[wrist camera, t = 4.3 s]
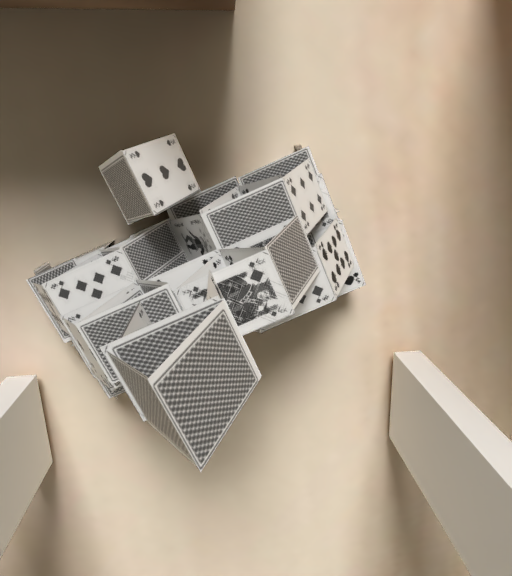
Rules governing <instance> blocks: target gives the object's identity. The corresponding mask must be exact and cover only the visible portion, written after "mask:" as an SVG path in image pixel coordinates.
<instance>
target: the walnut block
mask: <svg viewBox="0 0 512 576" xmlns="http://www.w3.org/2000/svg"><path fill="white" fill-rule="evenodd" d="M235 1H236V0H0V8H75V9H166V10H235Z"/></svg>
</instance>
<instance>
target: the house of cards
mask: <svg viewBox="0 0 512 576" xmlns="http://www.w3.org/2000/svg"><path fill="white" fill-rule="evenodd" d="M294 146H295V149H296V152H294V153H292V154H290V155H288V156H285V157H283V158H281V159H279V160H277V161H274V162H272V163H270V164H268V165H265V166H263V167H261V168H259V169H257V170H254V171H252V172H250V173H248V174H245V175H243V176H241V177H239V178H238V180H239V183H238V181H237V179H236V176H234V177H232V178H230V179H228V180H225V181H223V182H221V183H219V184H217V185H214V186H212V187H210V188H208V189H205V190H203V191H201V189H200V187H199V185H198V183H197V181H196V179H195V176H194V174H193V172H192V170H191V168H190V166H189V163H188V161H187V159H186V157H185V155H184V153H183V151H182V148H181V146H180V144H179V142H178V140H177V138H176V135H175V133H173V134H170V135H167V136H164V137H161V138H158V139H155V140H152V141H149V142H146V143H143V144H140V145H137V146H134V147H131V148H128V149H125V150H122V149H121V150H120V151H119V152H117V153H116V154H115V155H113V156H112V157H111V158H109V159H108V160H107V161H105V162H104V163H103V164H101V165H100V166H99V169H100V172H101V174H102V176H103V178H104V179H105V181H106V183H107V185H108V187H109V189H110V191H111V193H112V195H113V197H114V199H115V200H116V202H117V204H118V206H119V208H120V210H121V212H122V214H123V216H124V218H125V220H126V221H127V223H128V225H130V224H133V223H134V222H136V221H139V220H141V219H143V218H145V217H149V216H153V215H154V216H156V215H158V214H160V213H161V212H163V211H165V210H166V211H167V213H168V215H169V217H170V218H168V219H166V220H164V221H161V222H159V223H157V224H155V225H153V226H150V227H148V228H146V229H144V230H141V231H139V232H137V233H135V234H133V235H130V236H129V237H130V238H129V239H127V240H124V241H122V242H120V243H118V244H116V245H113V246H111V247H108V245H109V244H110V243H111V242H113V241H114V240H113V241H111V242H109V243H106V244H104V245H102V246H100V247H97V248H95V249H93V250H91V251H89V252H86V253H84V254H82V255H80V256H77V257H75V258H73V259H71V260H69V261H66V262H64V263H62V264H60V265H57V266H55V267H53V268H52V267H51V266H50V264H49V262H46V263H44V264H43V265H41V266H40V267H38V268H37V269H35V270H34V273H35V275H36V276H34V277H32V278H29V279H27V280H26V281H27V283H28V284H29V286H30V287H31V289H32V291H33V292H34V294H35V296H36V297H37V299H38V300H39V302H40V304H41V305H42V307H43V309H44V310H45V312H46V313H47V315H48V317H49V318H50V320H51V321H52V323H53V325H54V326H55V328H56V330H57V331H58V333H59V334H60V336H61V338H62V339H63V341H64V342H65V343H66V342H68V341H72V343H73V344H72V346H73V345H74V346H75V348H76V349H77V351H78V352H79V354H80V356H81V357H82V359H83V361H84V362H85V364H86V365H87V367H88V369H89V370H90V372H91V374H92V375H93V377H94V378H97V380H98V381H99V383H100V385H101V386H102V388H103V389H104V391H105V393H106V394H107V396H108V398H112V397H114V396H115V398H116V399H117V397H118V395H119V394H121V393H123V392H126V393H127V394H128V396H129V398H130V400H131V401H132V403H133V405H134V406H135V408H136V410H137V411H138V413H139V415H140V416H141V418H142V420H143V421H146V420H147V421H148V423H149V424H150V425H151V426H152V427H153V428H154V429H155V430H157V431H158V432H159V433H160V434H161V435H162V436H163V437H164V438H165V439H166V440H168V441H169V442H170V443H171V444H172V445H173V446H174V447H175V448H176V449H178V450H179V451H180V452H181V453H182V454H183V455H184V456H185V457H186V458H187V459H189V460H190V461H191V462H192V463H193V464H194V465H195V466H196V467H197V468H198V469H199V470H200V472H201V471H202V470H203V468H204V467H205V465H206V464H207V462H208V460H209V459H210V457H211V456H212V454H213V453H214V451H215V449H216V448H217V446H218V445H219V443H220V442H221V440H222V438H223V437H224V435H225V434H226V432H227V430H228V429H229V427H230V426H231V424H232V423H233V421H234V419H235V418H236V416H237V415H238V413H239V412H240V410H241V408H242V407H243V405H244V404H245V402H246V401H247V399H248V397H249V396H250V394H251V393H252V391H253V389H254V388H255V386H256V385H257V383H258V382H259V380H260V378H261V376H262V375H261V373H260V371H259V369H258V367H257V365H256V363H255V361H254V359H253V357H252V354H251V352H250V350H249V348H248V346H247V344H246V342H245V340H244V338H243V336H244V335H246V334H248V333H251V332H253V331H255V332H259V333H263V332H264V331H266V330H269V329H271V328H273V327H275V326H278V325H280V324H282V323H285V322H287V321H289V320H292V319H294V318H296V317H299V316H301V315H303V314H306V313H308V312H310V311H312V310H315V309H317V308H319V307H322V306H324V305H326V304H329V303H331V302H333V301H336V298H337V297H339V296H341V295H343V294H346V293H348V292H350V291H353V290H355V289H357V288H359V289H360V287H362V286H364V285H366V283H365V280H364V278H363V275H362V272H361V270H360V267H359V264H358V262H357V259H356V256H355V254H354V251H353V248H352V246H351V243H350V240H349V238H348V235H347V232H346V230H345V227H344V224H343V222H342V221H343V220H341V219H340V218H338V216H337V212H339V210H337V209H335V208H334V205H333V203H332V200H331V197H330V195H329V192H328V189H327V187H326V184H325V182H324V179H323V176H322V174H321V173H320V174H319V172H318V169H317V166H316V164H315V161H314V159H313V156H312V153H311V151H310V148H309V146H308V147H305V148H303V149H302V147H301V145H294Z"/></svg>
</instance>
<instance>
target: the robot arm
mask: <svg viewBox="0 0 512 576" xmlns="http://www.w3.org/2000/svg"><path fill="white" fill-rule="evenodd" d="M389 438H390V439H391V441H392V443H393V444H394V446H395V448H396V449H397V451H398V453H399V455H400V456H401V458H402V460H403V461H404V463H405V465H406V466H407V468H408V470H409V471H410V473H411V475H412V477H413V478H414V480H415V482H416V483H417V485H418V487H419V488H420V490H421V492H422V493H423V495H424V497H425V499H426V500H427V502H428V504H429V505H430V507H431V509H432V510H433V512H434V514H435V515H436V517H437V519H438V521H439V522H440V524H441V526H442V527H443V529H444V531H445V532H446V534H447V536H448V537H449V539H450V541H451V543H452V544H453V546H454V548H455V549H456V551H457V553H458V554H459V556H460V558H461V559H462V561H463V563H464V565H465V566H466V568H467V570H468V571H469V573H470V575H471V576H512V441H510V440H509V439H508V438H507V437H506V436H505V435H504V434H503V433H502V432H501V431H500V430H499V429H498V428H497V427H496V426H495V425H494V424H493V423H492V422H491V421H490V420H489V419H488V418H487V417H486V416H485V415H484V414H483V413H482V412H481V411H480V410H479V409H478V408H477V407H476V406H475V405H474V404H473V403H472V402H471V401H470V400H469V399H468V398H467V397H466V396H465V395H464V394H463V393H462V392H461V391H460V390H459V389H458V388H457V387H456V386H455V385H454V384H453V383H452V382H451V381H450V380H449V379H448V378H447V377H446V376H445V375H444V374H443V373H442V372H441V371H440V370H439V369H438V368H437V367H436V366H435V365H434V364H433V363H432V362H431V361H430V360H429V359H428V358H427V357H426V356H425V355H424V354H423V353H422V352H421V351H405V352H394V356H393V374H392V392H391V410H390V428H389ZM52 462H53V461H52V455H51V450H50V445H49V439H48V434H47V429H46V423H45V418H44V413H43V407H42V402H41V397H40V391H39V386H38V381H37V375H25V376H10V377H6V378H5V379H4V381H3V382H2V383H1V384H0V559H1V557H2V555H3V553H4V551H5V549H6V548H7V546H8V544H9V542H10V540H11V538H12V536H13V535H14V533H15V531H16V529H17V527H18V525H19V523H20V522H21V520H22V518H23V516H24V514H25V512H26V510H27V509H28V507H29V505H30V503H31V501H32V499H33V497H34V496H35V494H36V492H37V490H38V488H39V486H40V484H41V483H42V481H43V479H44V477H45V475H46V473H47V471H48V470H49V468H50V466H51V464H52Z"/></svg>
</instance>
